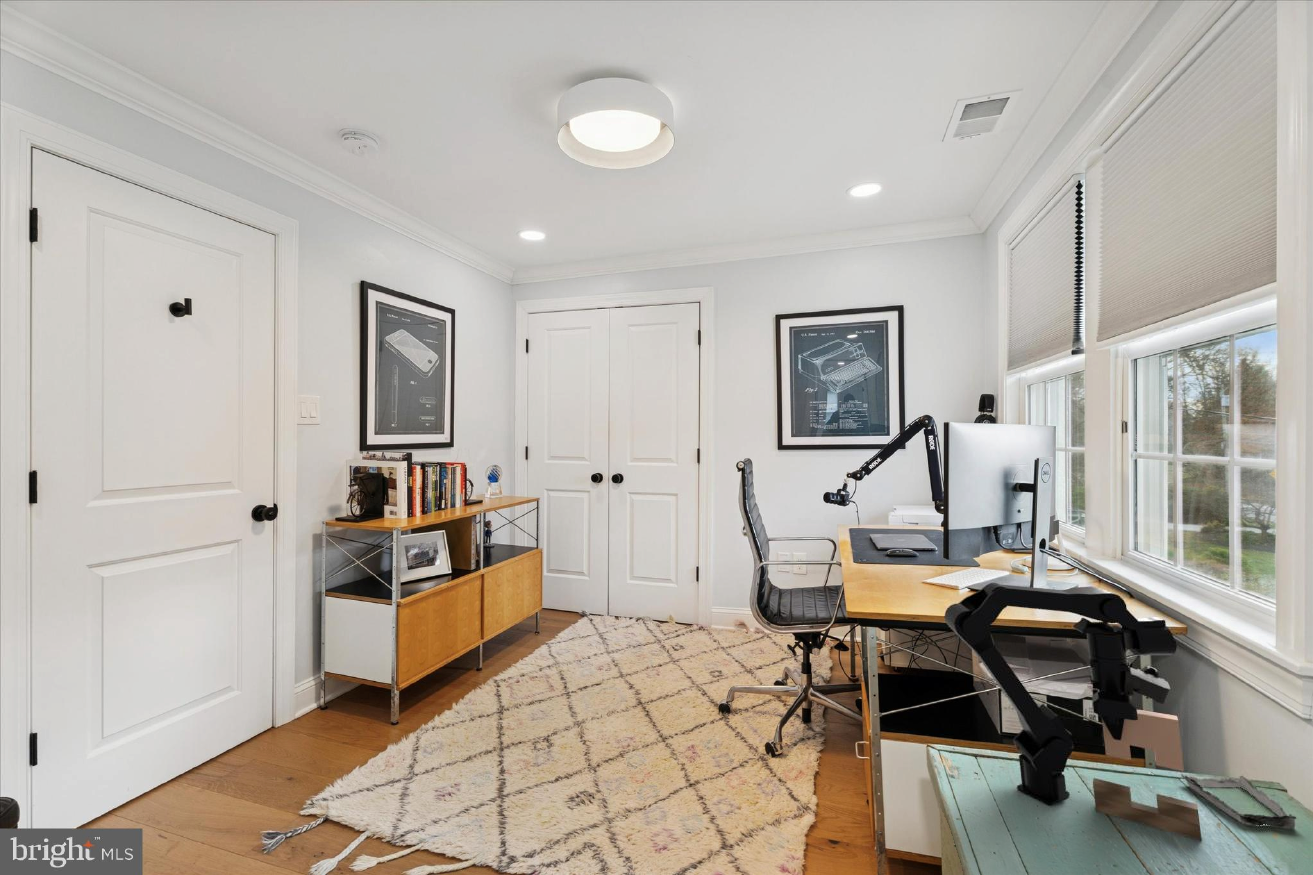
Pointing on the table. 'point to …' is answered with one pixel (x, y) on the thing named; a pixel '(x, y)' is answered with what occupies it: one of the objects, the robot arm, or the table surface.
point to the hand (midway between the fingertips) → (1116, 736)
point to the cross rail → (1148, 809)
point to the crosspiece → (1149, 738)
